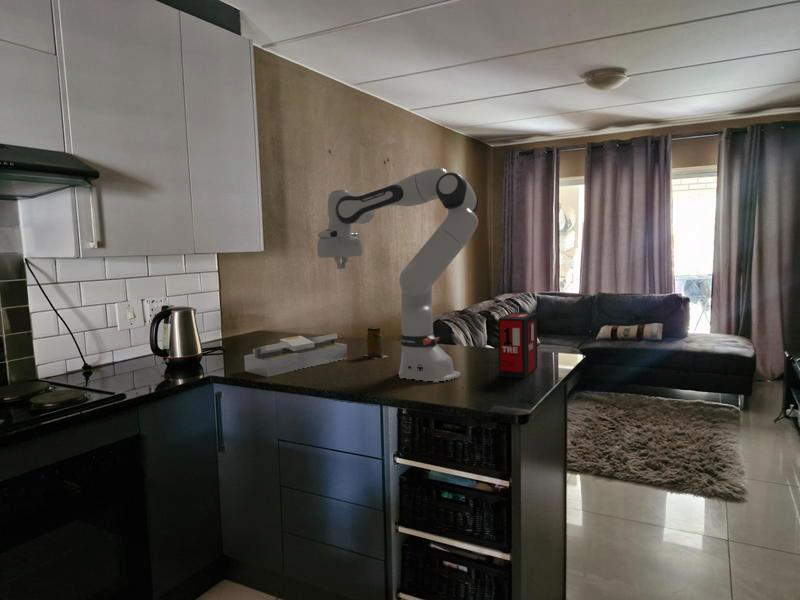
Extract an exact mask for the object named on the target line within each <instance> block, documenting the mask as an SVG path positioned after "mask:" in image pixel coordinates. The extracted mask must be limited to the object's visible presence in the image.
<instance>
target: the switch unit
mask: <svg viewBox="0 0 800 600" xmlns="http://www.w3.org/2000/svg"><path fill="white" fill-rule="evenodd" d="M308 339H309V338H308ZM309 340H311V341H312V339H309ZM347 346H348V345H347V343H340V342H336V338H335V339H330V340H326V341H320V342H315V344H314V347H312V348H307V349H302V350H297V351H292V350H290V349H288V348H287V347H286V348H283V349H279V350H275V351H270V352H264V353H260V349H259V347H256V348H255V347H254V349H255V354H254V353H251V354H246V355H244V357H243V359H244V371H245V372H247V373H250V374H255V375H259V376H263V377H267V378H269V377H274V376H278V375H282V374H286V373H291V372H295V371H294V370H296V371H299V370H298V369H300V370H303V369H302V368H305V369H308V368H307V367H309V368H312V367H311V366H313V367H317V365H318V366H321V364H322V365H327V364H330V362H331V363H335V362H338V360H340V361H344V360H348V347H347ZM343 359H344V360H343ZM334 361H335V362H334ZM290 371H291V372H290Z"/></svg>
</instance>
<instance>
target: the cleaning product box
mask: <svg viewBox="0 0 800 600" xmlns="http://www.w3.org/2000/svg"><path fill="white" fill-rule="evenodd" d="M498 368H499V369H498V376H499V377H504V378H505V377H506V378H517V379H526V378H527V377H529V375H530V374H532V373H533V372H534V371H535V370H537V369H538V313H536V312H533V313H532V312H514V311H513V312H511V313H508V314H506V315H503V316H501V317H499V318H498Z"/></svg>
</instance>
